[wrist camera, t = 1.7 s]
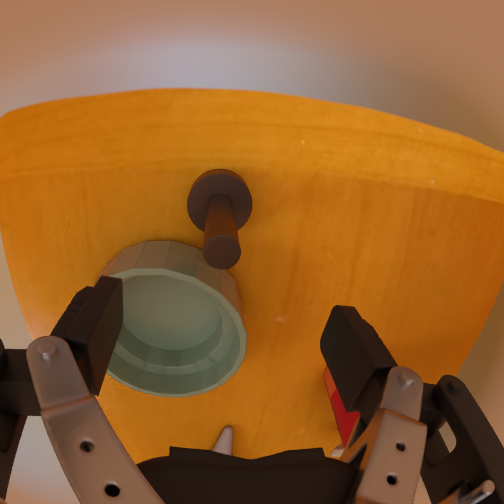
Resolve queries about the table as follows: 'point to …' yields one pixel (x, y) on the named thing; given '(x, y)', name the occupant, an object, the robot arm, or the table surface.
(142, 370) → the bowl
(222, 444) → the long tapered cone
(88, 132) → the table surface
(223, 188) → the brown capped cylinder
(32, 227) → the table surface
